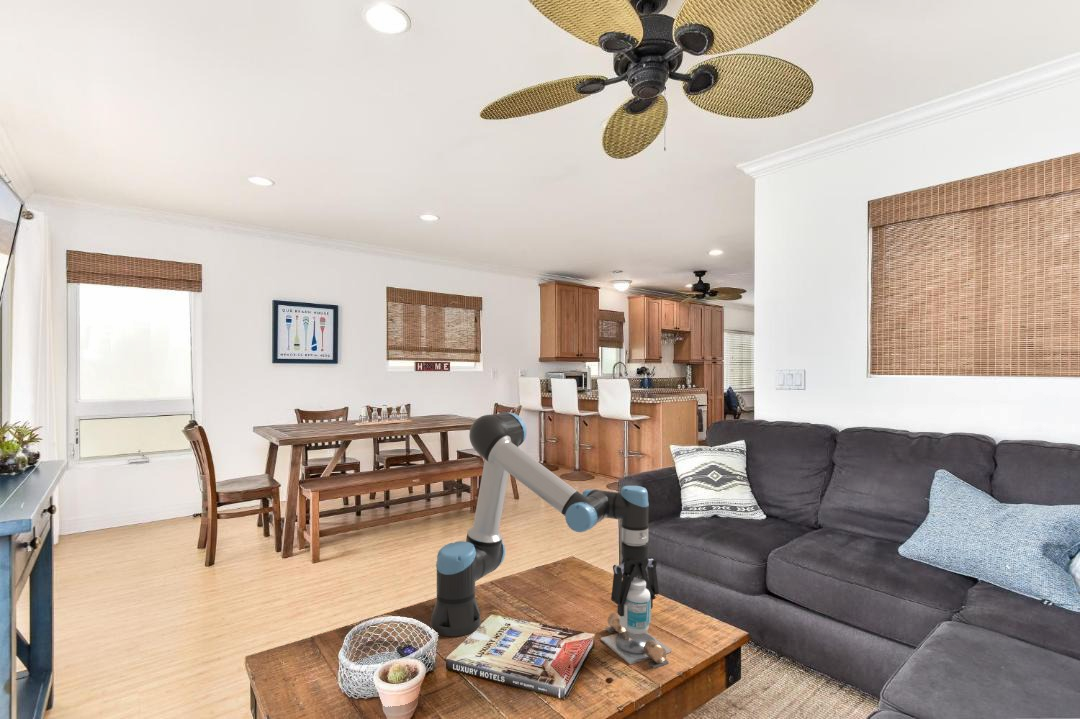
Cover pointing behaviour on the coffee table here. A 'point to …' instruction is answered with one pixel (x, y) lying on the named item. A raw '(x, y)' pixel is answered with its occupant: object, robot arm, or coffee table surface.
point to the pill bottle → (638, 607)
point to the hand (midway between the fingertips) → (635, 623)
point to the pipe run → (634, 644)
